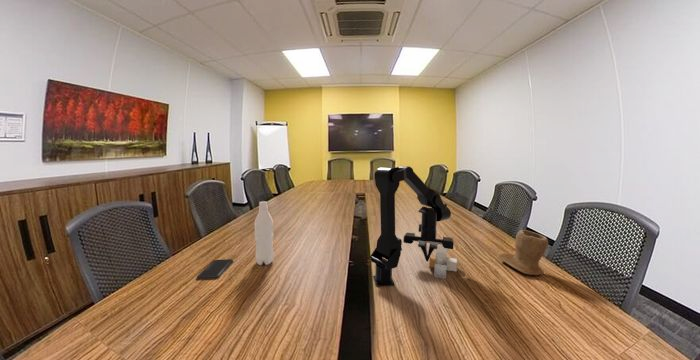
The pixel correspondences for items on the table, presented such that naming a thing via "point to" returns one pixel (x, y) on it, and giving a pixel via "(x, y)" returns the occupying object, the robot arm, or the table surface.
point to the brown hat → (527, 252)
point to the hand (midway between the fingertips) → (427, 261)
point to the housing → (440, 262)
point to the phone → (215, 269)
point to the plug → (450, 263)
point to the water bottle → (264, 235)
